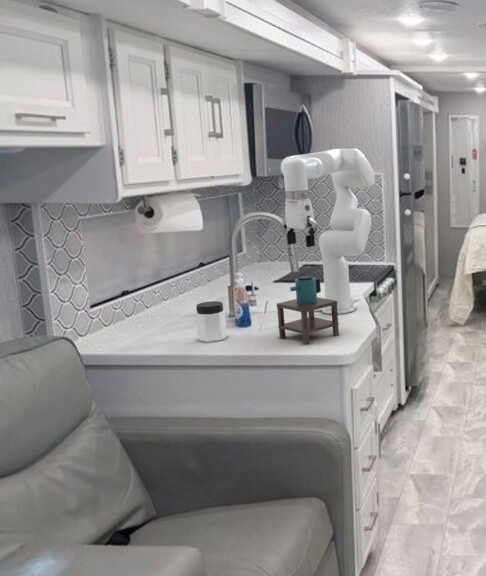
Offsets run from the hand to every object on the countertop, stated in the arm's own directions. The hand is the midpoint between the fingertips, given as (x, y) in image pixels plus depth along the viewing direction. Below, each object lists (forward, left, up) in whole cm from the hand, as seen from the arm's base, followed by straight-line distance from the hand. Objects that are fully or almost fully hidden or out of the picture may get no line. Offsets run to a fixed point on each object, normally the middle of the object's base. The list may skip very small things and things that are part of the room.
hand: (301, 245), depth 231 cm
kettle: (+6, +9, -18) cm, 21 cm away
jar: (+26, -16, -30) cm, 43 cm away
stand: (+6, +9, -30) cm, 32 cm away
